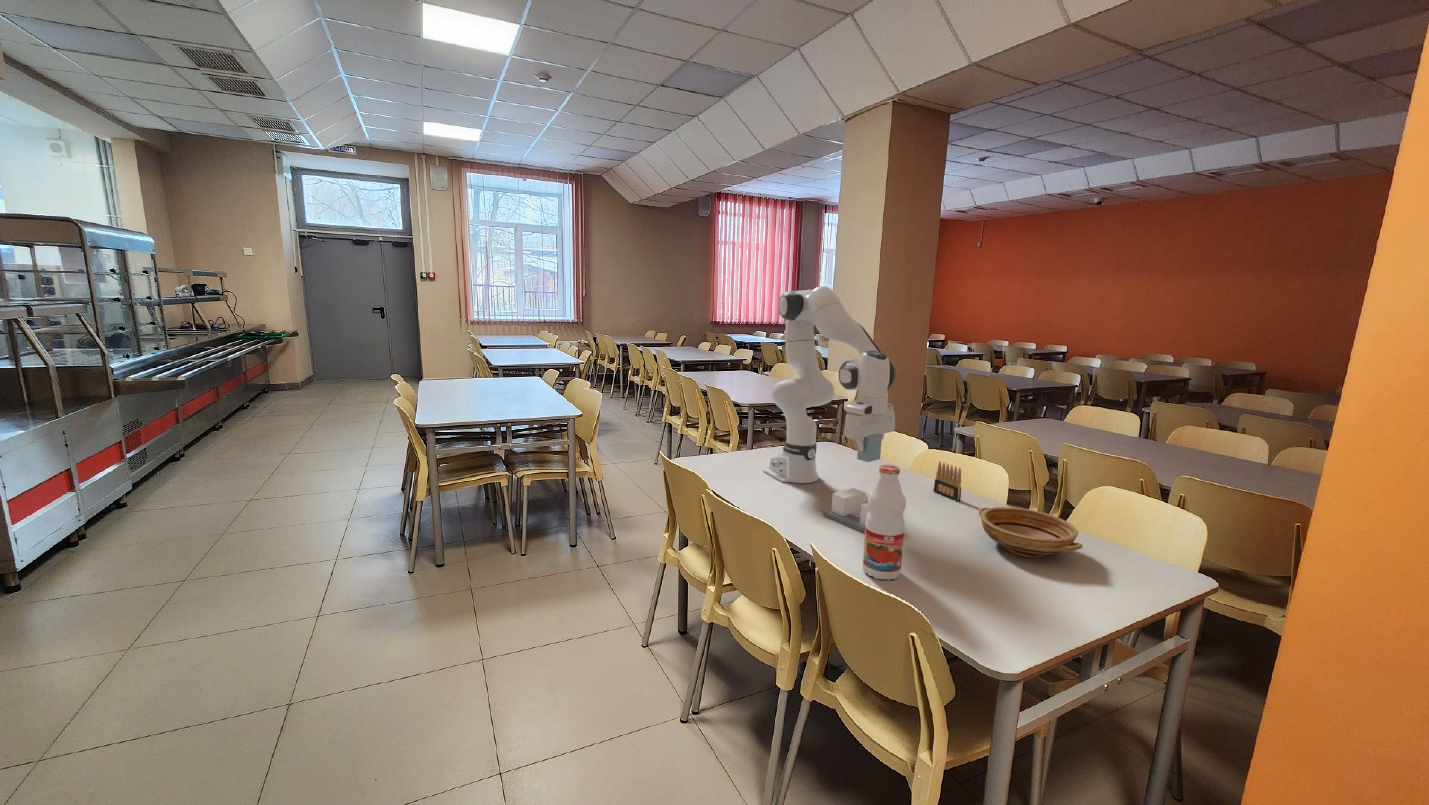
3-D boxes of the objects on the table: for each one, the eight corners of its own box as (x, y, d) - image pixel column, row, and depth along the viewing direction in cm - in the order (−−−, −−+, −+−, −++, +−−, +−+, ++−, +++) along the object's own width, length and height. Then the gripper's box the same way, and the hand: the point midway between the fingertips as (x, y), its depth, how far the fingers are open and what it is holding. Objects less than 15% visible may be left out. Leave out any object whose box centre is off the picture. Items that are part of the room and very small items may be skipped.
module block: (857, 459, 174) (858, 433, 172) (869, 456, 177) (871, 431, 176) (867, 462, 171) (869, 436, 169) (880, 459, 174) (881, 434, 173)
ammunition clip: (960, 501, 197) (964, 468, 195) (956, 501, 196) (960, 468, 194) (936, 491, 207) (939, 460, 204) (933, 492, 206) (936, 460, 204)
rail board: (822, 515, 181) (824, 493, 180) (851, 506, 189) (853, 485, 188) (873, 537, 165) (875, 513, 164) (902, 526, 173) (904, 503, 172)
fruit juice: (897, 565, 148) (905, 463, 143) (903, 583, 139) (913, 474, 134) (860, 562, 149) (867, 460, 144) (864, 579, 140) (872, 471, 135)
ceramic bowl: (951, 535, 168) (954, 510, 166) (1006, 523, 178) (1009, 499, 177) (1046, 580, 142) (1050, 551, 140) (1104, 563, 152) (1108, 535, 151)
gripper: (884, 400, 179) (881, 442, 182) (842, 406, 167) (839, 451, 170) (901, 403, 175) (898, 446, 177) (858, 410, 162) (855, 456, 165)
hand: (869, 449), depth 173 cm, fingers closed on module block, 6 cm apart
